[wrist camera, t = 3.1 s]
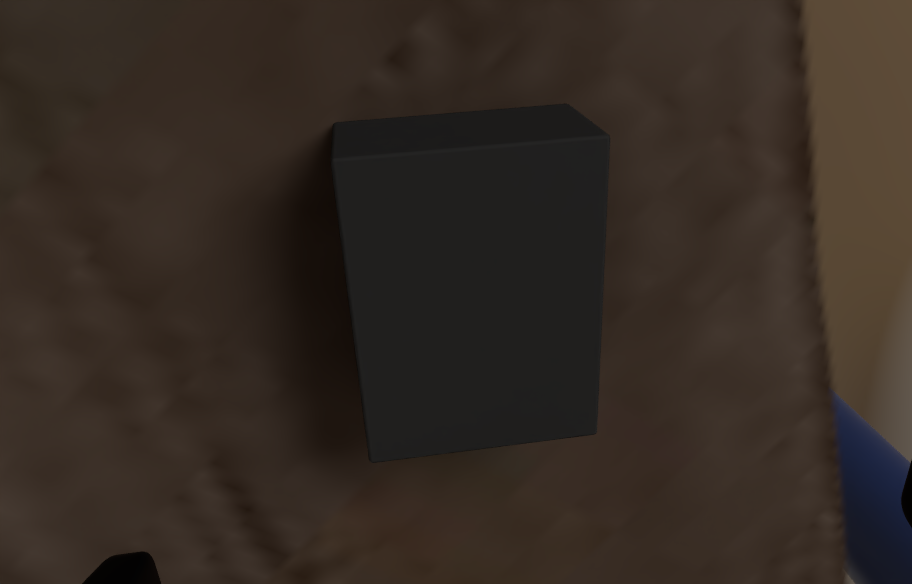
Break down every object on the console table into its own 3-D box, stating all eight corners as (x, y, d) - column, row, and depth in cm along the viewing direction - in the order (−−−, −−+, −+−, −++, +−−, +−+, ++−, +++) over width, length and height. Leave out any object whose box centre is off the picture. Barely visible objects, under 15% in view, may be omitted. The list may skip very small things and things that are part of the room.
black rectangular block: (332, 121, 14) (329, 158, 11) (568, 102, 14) (611, 135, 12) (366, 391, 16) (369, 464, 14) (563, 368, 17) (597, 435, 14)
